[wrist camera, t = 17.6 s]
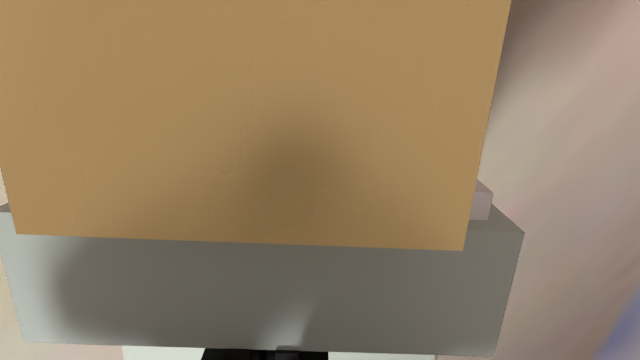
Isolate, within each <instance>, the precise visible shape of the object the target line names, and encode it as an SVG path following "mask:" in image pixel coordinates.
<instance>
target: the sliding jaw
mask: <svg viewBox="0 0 640 360" xmlns="http://www.w3.org/2000/svg"><path fill="white" fill-rule="evenodd" d="M492 197H493V192H492V191H491V190H489V189H488V188H487V187H486V186H484V185H483V184H482V183H481V182H479V181H478V180H476V185H475V191H474V196H473V201H472V206H471V211H470V216H469V221H468V227H467V232H466V237H465V242H464V247H463V251H451V250H425V249H398V248H371V247H345V246H318V245H291V244H265V243H238V242H211V241H185V240H158V239H131V238H105V237H78V236H51V235H24V234H16V231H15V227H14V223H13V218H12V214H11V210H10V206H9V202H8V203H6V204H4V205H2V206H0V253H1V257H2V261H3V265H4V268H5V272H6V276H7V280H8V284H9V288H10V292H11V295H12V299H13V303H14V307H15V311H16V315H17V319H18V322H19V326H20V330H21V334H22V338H23V342H24V343H52V344H86V345H119V346H152V347H185V348H218V349H225V348H234V349H252V350H299V351H318V352H351V353H385V354H418V355H451V356H484V357H494V353H495V349H496V345H497V341H498V337H499V333H500V329H501V325H502V321H503V317H504V313H505V309H506V305H507V301H508V297H509V293H510V289H511V285H512V281H513V277H514V273H515V269H516V265H517V261H518V257H519V253H520V249H521V245H522V241H523V237H524V233H525V232H523V231H522V230H521V229H520V228H519V227H518V226H517V225H515V224H514V223H513V222H512V221H511V220H510V219H509V218H507V217H506V216H505V215H504V214H503V213H502V212H501V211H499V210H498V209H497V208H496V207H495V206H494V205H493V204H492V203H491V202H492Z"/></svg>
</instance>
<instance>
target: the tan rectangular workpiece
mask: <svg viewBox="0 0 640 360" xmlns="http://www.w3.org/2000/svg"><path fill="white" fill-rule="evenodd" d="M511 1H512V0H0V168H1V172H2V177H3V181H4V185H5V189H6V193H7V198H8V202H9V206H10V210H11V214H12V218H13V223H14V227H15V231H16V234H24V235H51V236H78V237H105V238H131V239H158V240H185V241H211V242H238V243H265V244H291V245H318V246H345V247H371V248H398V249H425V250H451V251H463V247H464V242H465V237H466V232H467V227H468V221H469V216H470V211H471V206H472V201H473V196H474V191H475V185H476V180H477V175H478V170H479V165H480V160H481V155H482V149H483V144H484V139H485V134H486V129H487V124H488V119H489V114H490V108H491V103H492V98H493V93H494V88H495V83H496V78H497V72H498V67H499V62H500V57H501V52H502V47H503V42H504V36H505V31H506V26H507V21H508V16H509V11H510V6H511Z"/></svg>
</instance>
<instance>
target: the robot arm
mask: <svg viewBox="0 0 640 360" xmlns="http://www.w3.org/2000/svg"><path fill="white" fill-rule="evenodd" d="M201 360H329V357H328V352H318V351H299V350H252V349H234V348H225V349H218V348H205V350H204V353H203V355H202V358H201Z"/></svg>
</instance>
